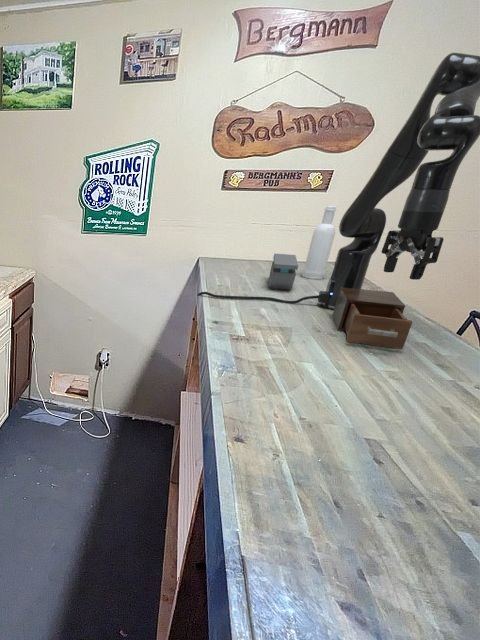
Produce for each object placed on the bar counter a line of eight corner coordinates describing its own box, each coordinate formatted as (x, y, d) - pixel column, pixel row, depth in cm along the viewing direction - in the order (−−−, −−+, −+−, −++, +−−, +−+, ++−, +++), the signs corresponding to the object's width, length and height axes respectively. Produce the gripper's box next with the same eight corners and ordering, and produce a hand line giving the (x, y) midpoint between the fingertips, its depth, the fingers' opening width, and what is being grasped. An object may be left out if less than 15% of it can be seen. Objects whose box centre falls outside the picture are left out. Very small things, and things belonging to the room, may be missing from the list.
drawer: (406, 355, 118) (417, 326, 115) (348, 347, 124) (357, 319, 121) (390, 331, 134) (399, 306, 131) (340, 325, 140) (347, 300, 137)
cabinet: (394, 337, 133) (405, 305, 129) (337, 330, 139) (347, 299, 135) (383, 321, 146) (393, 292, 142) (332, 315, 152) (340, 287, 148)
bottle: (320, 275, 205) (339, 205, 193) (325, 279, 198) (345, 207, 186) (299, 274, 207) (317, 205, 195) (304, 278, 200) (322, 206, 188)
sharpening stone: (291, 293, 177) (298, 265, 173) (268, 291, 181) (274, 263, 176) (289, 280, 197) (295, 255, 193) (268, 278, 201) (274, 253, 197)
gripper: (466, 211, 104) (440, 282, 110) (415, 206, 117) (394, 269, 123) (432, 211, 104) (408, 282, 110) (385, 206, 117) (366, 269, 123)
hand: (400, 275), depth 117 cm, fingers open, 8 cm apart
